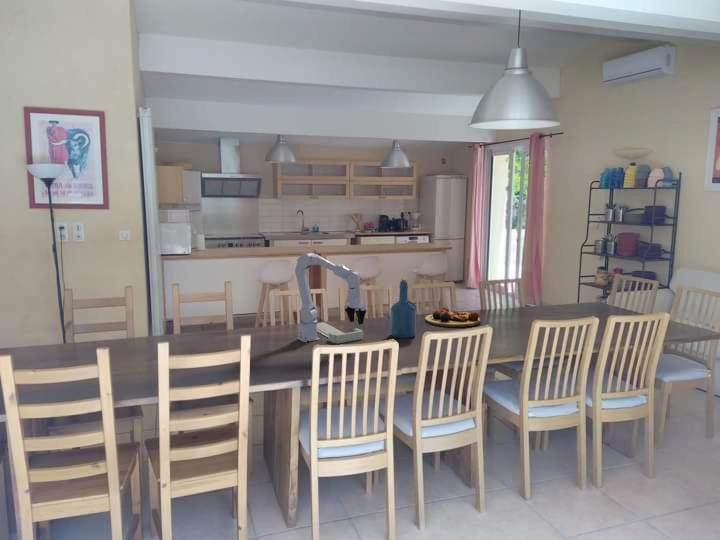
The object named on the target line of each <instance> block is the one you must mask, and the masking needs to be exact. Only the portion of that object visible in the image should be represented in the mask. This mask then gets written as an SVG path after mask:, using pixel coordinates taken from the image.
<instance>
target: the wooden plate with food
mask: <svg viewBox="0 0 720 540" xmlns="http://www.w3.org/2000/svg"><path fill="white" fill-rule="evenodd" d="M449 310H450V309H449V308H448V307H447V306H445V307H442V308H438V309H436V310H434V311H433V313H432V314H429V315H426V316H425V318H424V322H426V323H427V324H429V323H430V324H429V325H432V324H433V325H432V326H436V325H437V326H438V327H443V326H444V327H446V328H465V327H467V326H469V327H473V326H477V325H479V324H480V323H481V318H480V317H479V315H480V314H479V312H478V311H471V312H468V311H463V312H459V311H455V309H453V310H451V311H449ZM444 327H443V328H444ZM467 328H468V327H467Z"/></svg>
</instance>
